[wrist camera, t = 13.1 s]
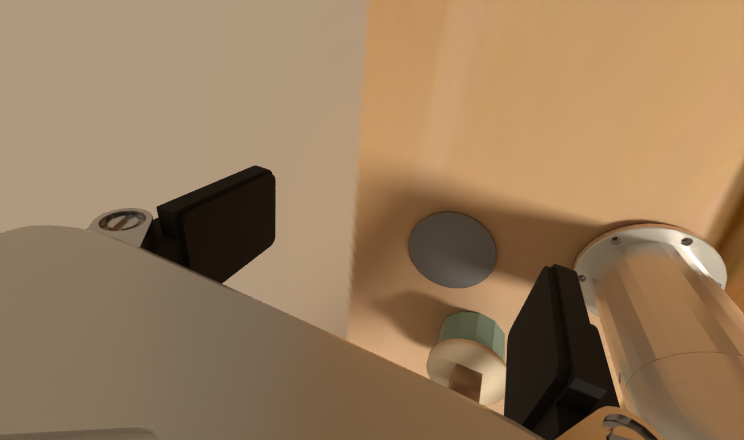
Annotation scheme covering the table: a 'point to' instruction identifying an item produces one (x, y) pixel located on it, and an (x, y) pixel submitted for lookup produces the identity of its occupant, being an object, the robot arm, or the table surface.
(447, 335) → the bowl
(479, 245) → the mat
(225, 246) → the robot arm
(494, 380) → the lid
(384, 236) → the table surface
